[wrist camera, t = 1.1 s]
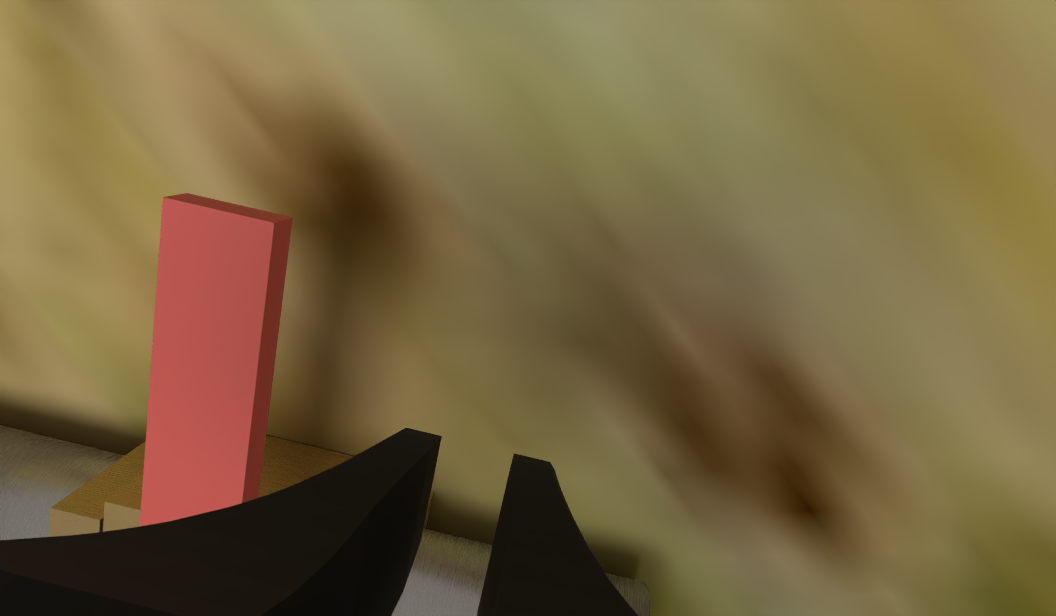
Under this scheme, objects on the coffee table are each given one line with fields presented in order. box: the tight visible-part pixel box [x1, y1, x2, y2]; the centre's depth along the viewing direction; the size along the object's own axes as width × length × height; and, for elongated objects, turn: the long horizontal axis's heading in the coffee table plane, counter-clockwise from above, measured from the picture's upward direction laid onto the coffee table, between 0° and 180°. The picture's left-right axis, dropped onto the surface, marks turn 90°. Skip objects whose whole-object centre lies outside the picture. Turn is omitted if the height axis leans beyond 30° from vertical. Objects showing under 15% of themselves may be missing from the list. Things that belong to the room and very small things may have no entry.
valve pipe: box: [0, 425, 650, 616], centre depth 22 cm, size 26×6×6 cm, turn 78°
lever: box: [140, 193, 292, 526], centre depth 17 cm, size 14×4×1 cm, turn 168°
